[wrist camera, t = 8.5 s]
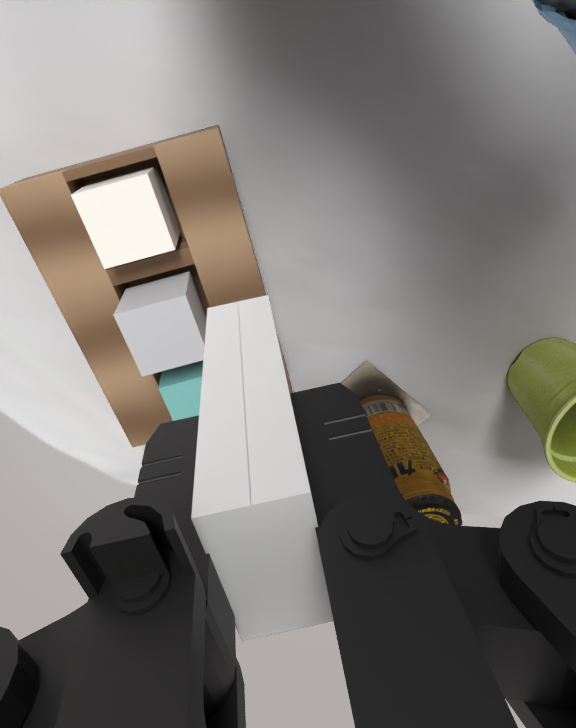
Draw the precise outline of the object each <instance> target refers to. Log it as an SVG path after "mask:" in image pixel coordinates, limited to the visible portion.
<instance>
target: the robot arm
mask: <svg viewBox="0 0 576 728" xmlns="http://www.w3.org/2000/svg"><path fill="white" fill-rule="evenodd" d="M532 1H533V3H534V4H535V6H536V8H537V9H538V11H539V14H540V15H541V16H542V17H543V18H544V19H546V20H547V21H548V22H549V23H551V24H553V25H554V26H556V27H557V28H558V29H559V31H560V32H561V34H562V35H563V37H564V38H565V39H566V41H567V42H568V44H569V45H570V46H571V48H572V49H573V51H574V52H575V54H576V0H532ZM138 483H139V485H137V487H136V492H135V496H134V498H127V499H124V500H122V501H119V502H116V503H113V504H111V505H108V506H106V507H104V508H103V509H101V510H100V511H98V512H97V513H95V514H93V515H92V516H90V517H89V518H87V519H86V520H85V521H84V522H83V523H82V524H81V526H79V527H78V529H76V530H75V531H74V533H72V535H71V536H70V538H69V539H68V541H67V543H66V545H65V547H64V548H63V550H62V552H61V556H62V557H63V559H64V560H65V562H66V563H67V565H68V566H69V568H70V570H71V571H72V573H73V574H74V576H75V577H76V579H77V580H78V582H79V583H80V585H81V586H82V588H83V590H84V591H85V593H86V594H87V596H88V597H89V599H88V602H87V603H86V604H84V605H83V606H81V607H80V608H78V609H77V610H75V611H74V612H72V613H70V614H69V615H67V616H65V617H63V618H61V619H59V620H57V621H55V622H53V623H51V624H50V625H48V626H46V627H44V628H42V629H40V630H38V631H36V632H34V633H32V634H30V635H28V636H26V637H25V638H23V639H21V640H19V641H18V639H17V638H16V637H15V636H14V635H13V634H12V632H11V631H10V630H9V629H6V628H2V627H0V728H246V721H245V695H244V681H243V676H242V672H241V668H240V665H239V663H238V661H237V658H236V650H235V626H236V628H237V631H238V633H239V635H240V638H241V640H242V641H245V640H249V639H254V638H259V637H263V636H268V635H272V634H277V633H281V632H285V631H290V630H295V629H299V628H304V627H308V626H313V625H317V624H321V623H326V622H330V621H334V625H335V630H336V635H337V640H338V645H339V649H340V654H341V659H342V664H343V669H344V674H345V678H346V684H347V689H348V694H349V699H350V703H351V709H352V714H353V718H354V723H355V728H518V727H517V725H516V722H515V720H514V718H513V716H512V714H511V712H510V709H509V707H508V705H507V703H506V701H505V699H506V700H507V702H508V703H509V704H510V706H511V707H512V708H513V710H514V711H515V713H516V714H517V716H518V717H519V718H520V720H521V721H522V722H523V724H524V725H525V727H526V728H576V506H575V505H571V504H568V503H565V502H551V501H538V502H534V503H530V504H526V505H522V506H519V507H518V508H516V509H515V510H514V511H513V512H511V513H510V514H509V515H507V516H506V517H505V519H504V521H503V524H502V526H501V528H487V527H471V526H470V527H469V526H459V525H452V524H446V523H442V522H439V521H436V520H433V519H431V518H428V517H426V516H425V515H423V514H421V513H420V512H418V511H416V510H415V509H414V508H413V507H412V506H411V505H410V504H408V503H407V502H406V501H405V499H404V498H403V496H402V494H401V493H400V491H399V489H398V487H397V485H396V482H395V480H394V478H393V476H392V473H391V471H390V469H389V466H388V464H387V462H386V460H385V457H384V455H383V453H382V450H381V448H380V446H379V444H378V441H377V439H376V437H375V434H374V432H372V428H371V425H370V423H369V421H368V418H367V416H366V415H365V412H364V409H363V407H362V405H361V402H360V400H359V398H358V396H357V395H356V394H355V393H354V392H352V391H351V390H350V389H348V388H347V387H346V386H344V385H343V384H341V383H336V384H332V385H327V386H322V387H318V388H313V389H309V390H304V391H300V392H295V393H289V388H288V383H287V379H286V374H285V370H284V365H283V360H282V356H281V351H280V347H279V342H278V338H277V333H276V328H275V324H274V319H273V315H272V310H271V305H270V301H269V296H268V295H266V296H261V297H257V298H252V299H247V300H243V301H238V302H233V303H229V304H224V305H220V306H215V307H210V308H207V320H206V333H205V346H204V359H203V372H202V385H201V398H200V411H199V415H198V416H193V417H189V418H184V419H180V420H175V421H170V422H166V423H161V424H160V425H159V427H158V428H157V429H156V431H155V432H154V433H153V435H152V436H151V437H150V439H149V440H148V441H147V443H146V446H145V451H144V456H143V460H142V468H141V469H140V474H139V478H138Z"/></svg>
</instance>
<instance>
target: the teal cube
mask: <svg viewBox="0 0 576 728" xmlns="http://www.w3.org/2000/svg"><path fill="white" fill-rule="evenodd" d="M202 372H203V360H202V361H198V362H194V363H191V364H187V365H183V366H180V367H176V368H172V369H169V370H165V371H162V373H161V378H160V383H159V388H158V389H159V391H160V393H161V395H162V398H163V400H164V402H165V404H166V406H167V409H168V411H169V413H170V415H171V417H172V420H173V421H175V420H180V419H184V418H189V417H193V416H198V415H199V411H200V398H201V385H202Z"/></svg>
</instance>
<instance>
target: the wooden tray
mask: <svg viewBox="0 0 576 728" xmlns="http://www.w3.org/2000/svg"><path fill="white" fill-rule="evenodd" d="M154 164H157V167H158V169H159V172H160V175H161V178H162V181H163V184H164V186H165V189H166V192H167V195H168V198H169V201H170V203H171V206H172V209H173V212H174V215H175V218H176V220H177V223H178V226H179V229H180V235H179V239H178V242H177V246H176V249H175V250H173V251H169V252H166V253H162V254H158V255H155V256H151V257H147V258H144V259H140V260H136V261H133V262H129V263H125V264H122V265H118V266H114V267H111V268H107V269H104V267H103V265H102V263H101V261H100V258H99V256H98V254H97V252H96V250H95V247H94V245H93V243H92V241H91V239H90V236H89V234H88V232H87V230H86V228H85V225H84V223H83V221H82V219H81V217H80V214H79V212H78V210H77V208H76V205H75V203H74V201H73V199H72V197H71V194H73V193H74V192H76V191H77V190H79V189H80V188H82V187H83V186H85V185H86V184H88V183H89V182H93V181H96V180H100V179H104V178H107V177H111V176H115V175H118V174H122V173H125V172H129V171H133V170H136V169H140V168H144V167H147V166H151V165H154ZM0 196H1V198H2V200H3V202H4V204H5V206H6V208H7V210H8V211H9V213H10V215H11V217H12V219H13V221H14V223H15V225H16V227H17V229H18V230H19V232H20V234H21V236H22V238H23V240H24V242H25V244H26V246H27V248H28V250H29V251H30V253H31V255H32V257H33V259H34V261H35V263H36V265H37V267H38V269H39V270H40V272H41V274H42V276H43V278H44V280H45V282H46V284H47V286H48V288H49V289H50V291H51V293H52V295H53V297H54V299H55V301H56V303H57V305H58V307H59V308H60V310H61V312H62V314H63V316H64V318H65V320H66V322H67V324H68V326H69V327H70V329H71V331H72V333H73V335H74V337H75V339H76V341H77V343H78V345H79V346H80V348H81V350H82V352H83V354H84V356H85V358H86V360H87V362H88V364H89V365H90V367H91V369H92V371H93V373H94V375H95V377H96V379H97V381H98V383H99V384H100V386H101V388H102V390H103V392H104V394H105V396H106V398H107V400H108V402H109V403H110V405H111V407H112V409H113V411H114V413H115V415H116V417H117V419H118V421H119V422H120V424H121V426H122V428H123V430H124V432H125V434H126V436H127V438H128V440H129V442H130V443H131V445H132V447H136V446H140V445H143V444H146V443H147V441H148V440H149V439H150V437H151V436H152V435H153V433H154V432H155V431H156V429H157V428H158V427H159V425H160V424H161V423H166V422H170V421H173V420H172V417H171V415H170V413H169V411H168V409H167V406H166V404H165V402H164V400H163V398H162V395H161V393H160V391H159V389H158V388H159V383H160V378H161V373H162V371H161V372H158V373H154V374H150V375H147V376H143V377H142V376H141V373H140V371H139V369H138V367H137V365H136V363H135V361H134V358H133V356H132V354H131V352H130V350H129V348H128V346H127V343H126V341H125V339H124V337H123V335H122V333H121V331H120V328H119V326H118V324H117V322H116V320H115V318H114V316H113V314H114V312H115V310H116V308H117V306H118V304H119V302H120V300H121V298H122V296H123V294H124V292H125V290H126V289H127V288H131V287H134V286H138V285H142V284H145V283H149V282H153V281H156V280H160V279H164V278H167V277H171V276H174V275H178V274H182V273H185V272H189V271H190V273H191V276H192V279H193V282H194V285H195V287H196V290H197V293H198V296H199V299H200V301H201V304H202V307H203V310H204V312H205V315H206V318H207V308H210V307H215V306H220V305H224V304H229V303H233V302H238V301H243V300H247V299H252V298H257V297H261V296H266V293H265V289H264V285H263V282H262V278H261V275H260V271H259V268H258V264H257V260H256V257H255V253H254V250H253V246H252V243H251V239H250V235H249V232H248V228H247V225H246V221H245V218H244V214H243V210H242V207H241V203H240V200H239V196H238V193H237V189H236V185H235V182H234V178H233V175H232V171H231V168H230V164H229V160H228V157H227V153H226V150H225V146H224V143H223V139H222V135H221V132H220V128H219V125H216V126H213V127H209V128H206V129H202V130H198V131H195V132H191V133H187V134H184V135H180V136H177V137H173V138H169V139H166V140H162V141H158V142H155V143H151V144H148V145H144V146H140V147H137V148H133V149H130V150H126V151H122V152H119V153H115V154H111V155H108V156H104V157H101V158H97V159H93V160H90V161H86V162H83V163H79V164H75V165H72V166H68V167H64V168H61V169H57V170H54V171H50V172H46V173H43V174H39V175H36V176H32V177H28V178H25V179H22V180H20V181H17V182H15V183H13V184H10V185H8V186H5V187H3V188H1V189H0ZM276 333H277V332H276ZM277 338H278V335H277ZM278 342H279V339H278ZM279 347H280V351H281V356H282V360H283V365H284V370H285V374H286V379H287V383H288V388H289V393H293V391H292V387H291V383H290V379H289V375H288V371H287V368H286V364H285V360H284V357H283V353H282V350H281V346H280V343H279Z"/></svg>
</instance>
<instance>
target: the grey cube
mask: <svg viewBox="0 0 576 728" xmlns="http://www.w3.org/2000/svg"><path fill="white" fill-rule="evenodd" d="M113 316H114V318H115V320H116V322H117V324H118V326H119V328H120V331H121V333H122V335H123V337H124V339H125V341H126V343H127V346H128V348H129V350H130V352H131V354H132V356H133V358H134V361H135V363H136V365H137V367H138V369H139V371H140V373H141V376H142V377H143V376H147V375H150V374H154V373H158V372H161V371H165V370H169V369H172V368H176V367H180V366H183V365H187V364H191V363H194V362H198V361H202V360H203V359H204V346H205V333H206V320H207V318H206V315H205V312H204V310H203V307H202V304H201V301H200V299H199V296H198V293H197V290H196V287H195V285H194V282H193V279H192V276H191V273H190V271H189V272H185V273H182V274H178V275H174V276H171V277H167V278H164V279H160V280H156V281H153V282H149V283H145V284H142V285H138V286H134V287H131V288H127V289H126V290H125V292H124V294H123V296H122V298H121V300H120V302H119V304H118V306H117V308H116V310H115V312H114V314H113Z"/></svg>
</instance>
